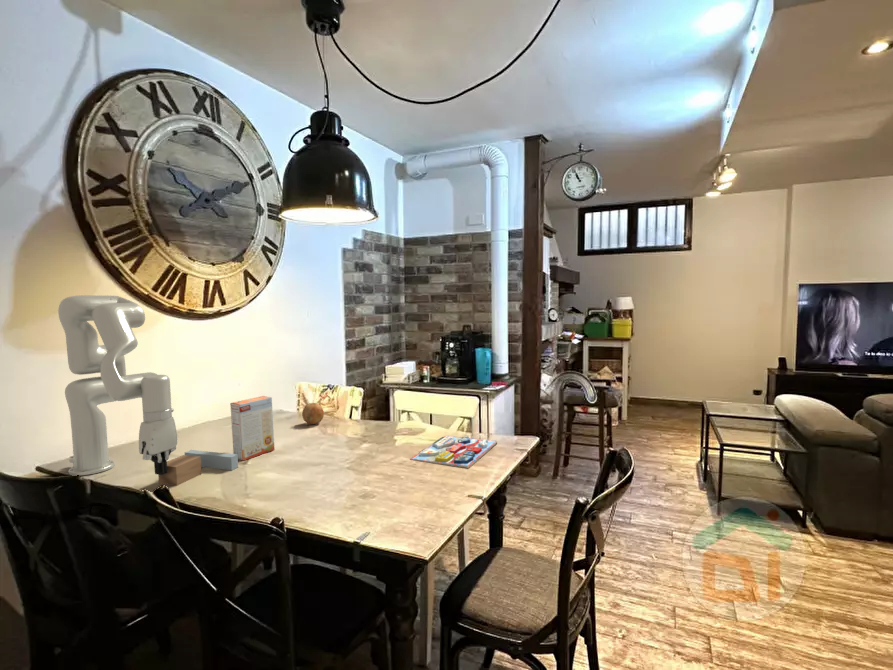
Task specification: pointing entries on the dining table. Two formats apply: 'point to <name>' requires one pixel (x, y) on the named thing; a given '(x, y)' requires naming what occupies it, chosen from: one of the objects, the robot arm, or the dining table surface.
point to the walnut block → (181, 470)
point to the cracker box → (252, 427)
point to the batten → (216, 459)
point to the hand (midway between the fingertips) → (161, 473)
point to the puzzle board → (455, 451)
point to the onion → (313, 413)
